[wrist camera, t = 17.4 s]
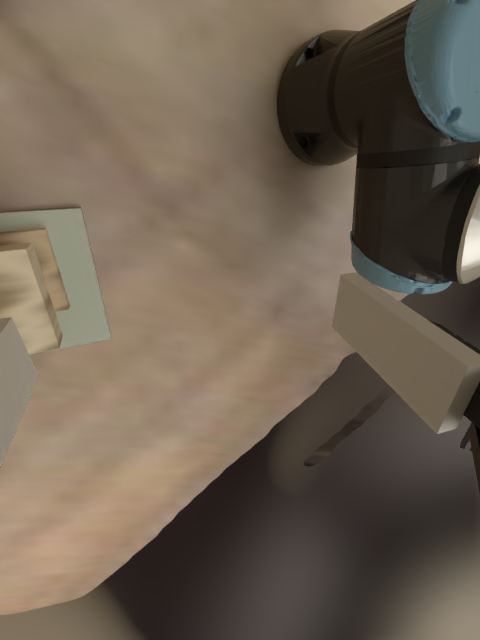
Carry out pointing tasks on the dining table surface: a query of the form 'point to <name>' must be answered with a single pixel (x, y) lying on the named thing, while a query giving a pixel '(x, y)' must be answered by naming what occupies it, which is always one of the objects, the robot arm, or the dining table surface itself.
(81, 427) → the dining table surface
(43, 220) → the mat
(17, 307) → the stool
